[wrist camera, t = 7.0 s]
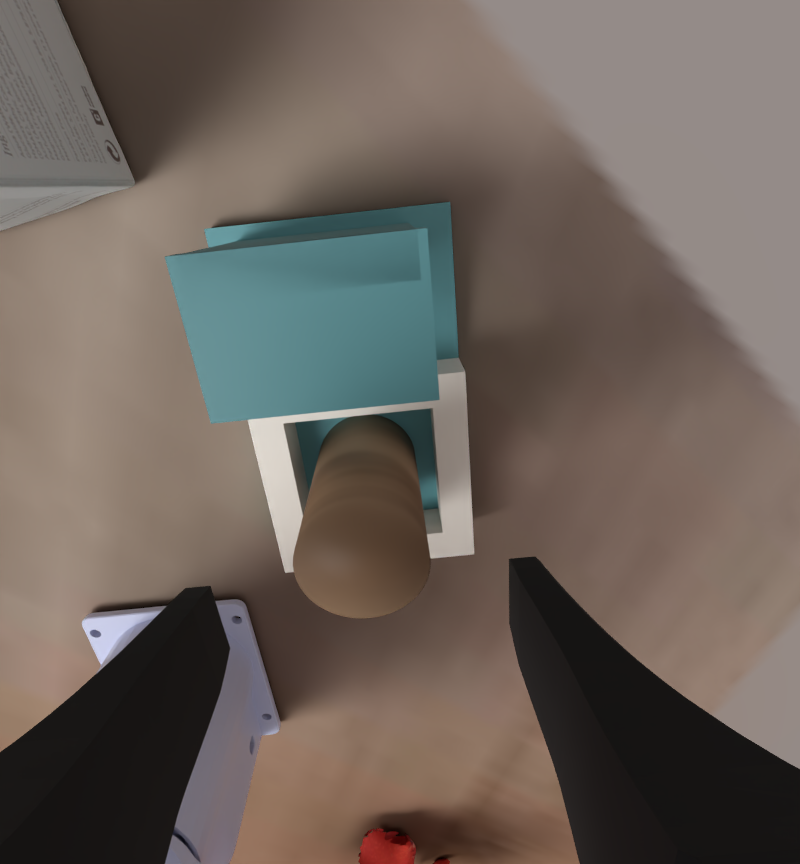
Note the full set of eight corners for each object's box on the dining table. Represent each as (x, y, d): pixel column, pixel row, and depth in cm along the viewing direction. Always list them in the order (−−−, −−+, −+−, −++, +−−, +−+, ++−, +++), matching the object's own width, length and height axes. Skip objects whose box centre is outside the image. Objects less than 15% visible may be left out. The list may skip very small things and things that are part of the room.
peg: (418, 495, 22) (434, 611, 15) (327, 504, 22) (305, 624, 15) (411, 409, 20) (425, 499, 14) (312, 419, 20) (280, 513, 14)
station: (465, 521, 23) (491, 622, 18) (283, 539, 23) (251, 645, 18) (448, 202, 18) (477, 199, 12) (209, 228, 18) (128, 238, 12)
